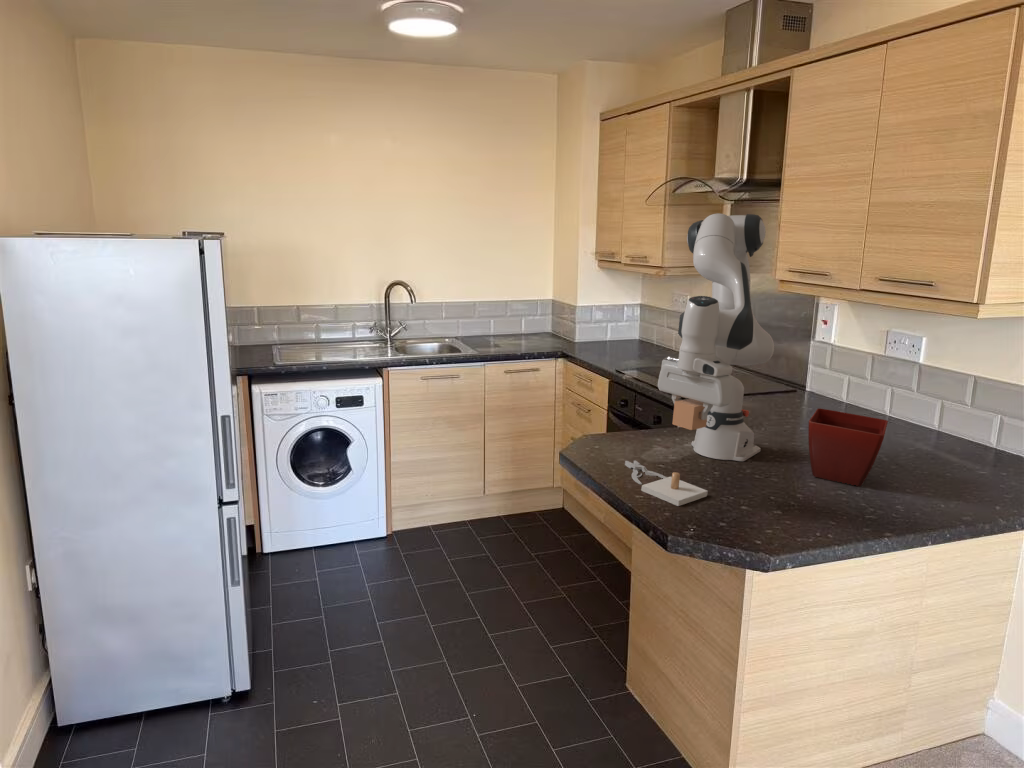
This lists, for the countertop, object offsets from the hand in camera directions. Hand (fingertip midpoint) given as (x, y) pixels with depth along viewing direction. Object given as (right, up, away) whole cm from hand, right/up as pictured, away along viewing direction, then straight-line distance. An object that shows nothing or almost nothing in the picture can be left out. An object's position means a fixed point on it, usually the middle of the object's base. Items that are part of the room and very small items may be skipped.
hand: (690, 415), depth 180 cm
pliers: (-9, -18, +19) cm, 27 cm away
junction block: (-3, -21, +5) cm, 21 cm away
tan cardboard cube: (0, -3, +1) cm, 3 cm away
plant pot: (+49, -19, +25) cm, 59 cm away
